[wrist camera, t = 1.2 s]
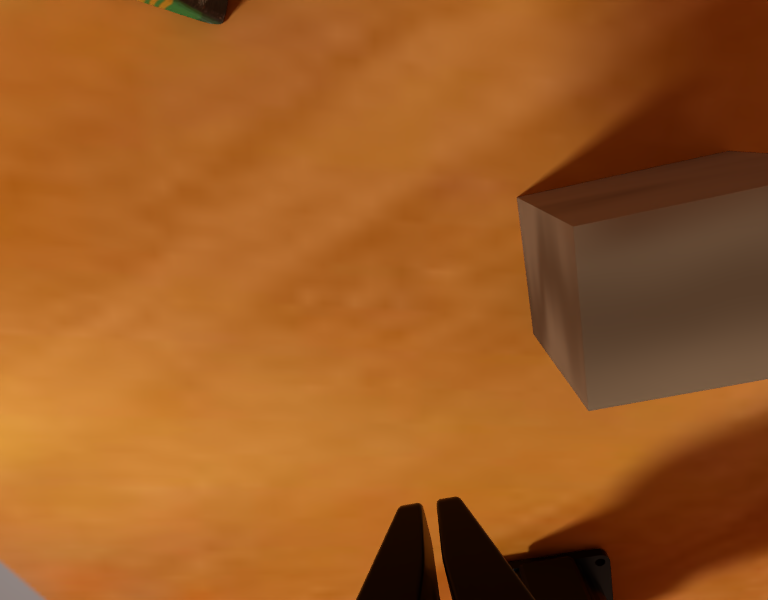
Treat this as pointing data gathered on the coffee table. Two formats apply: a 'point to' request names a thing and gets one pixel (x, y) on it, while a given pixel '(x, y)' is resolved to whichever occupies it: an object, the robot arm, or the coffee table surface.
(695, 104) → the coffee table surface
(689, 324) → the walnut brick
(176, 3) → the chalk box
